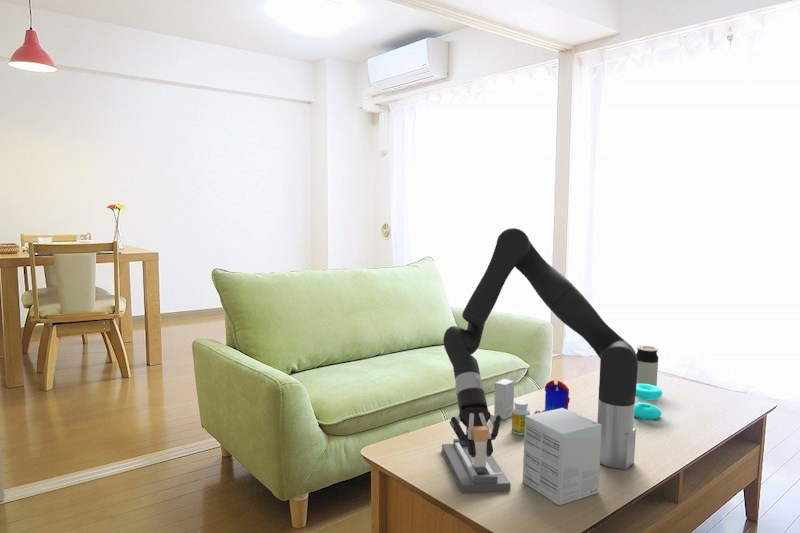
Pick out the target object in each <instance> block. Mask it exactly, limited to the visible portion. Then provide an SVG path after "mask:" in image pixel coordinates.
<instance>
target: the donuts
mask: <svg viewBox="0 0 800 533" xmlns="http://www.w3.org/2000/svg"><path fill="white" fill-rule="evenodd" d="M662 395H663V390H662V389H661V388H660V387H659V386H657V387H656V386H654V385H650V384H637V386H636V395H635V398H638V399H639V400H645V401H646V400H647V401H654V400H658V399H660V398H662ZM661 415H662V411H661V409H660V408H659V407H657V406H656V405H654V404H651V403H648V402H643V401H641V402H635V408H634V418H638V419H641V420H642V419H643V420H650V421H651V420H653V421H654V420H656V419H659V418H660V417H661Z"/></svg>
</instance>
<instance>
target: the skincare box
mask: <svg viewBox="0 0 800 533" xmlns="http://www.w3.org/2000/svg"><path fill="white" fill-rule="evenodd" d="M514 397H515V381H514V380H511V379H508V378H507V379H506V378H502V379H501V380H497V381H496V382H494V404H493V405H494V408H493V409H494V412H493V414H494V416H497V415H499V416H500V417H501V420H503V421H506V420H507V419H509V418H512V410H513V408H514V407H515V406H514V405H515V401H514V400H515V399H514Z"/></svg>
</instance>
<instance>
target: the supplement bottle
mask: <svg viewBox="0 0 800 533" xmlns="http://www.w3.org/2000/svg"><path fill="white" fill-rule="evenodd" d="M528 403H529V402H528V401H526V400H519V399H518V400H515V401H514V407H513V410H512V416H511V432H512V433H513V434H515V435H519V436H524V434H525V416H526V415H531V412H530V409H529V408H528V407H529V404H528Z"/></svg>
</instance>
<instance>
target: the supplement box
mask: <svg viewBox="0 0 800 533" xmlns="http://www.w3.org/2000/svg"><path fill="white" fill-rule="evenodd" d="M540 412H541V413H536V414H534V413H532V414H531V413H530V415H526V416H525V434H524V435H523V436H524V439H523V440H524V441H523V462H522V464H523V465H522V483H524V485H527V487H530V488H532V489H533V490H534V491H536V492H537V493H539V494H541V495H542V496H543V497H545V498H546V499H548V500H550V501H551V502H553V503H554V504H556V505H557V506H562V505H565V504H568V503H571V502H574V501H577V500H580V499H584V498H586V497H591V496H593V495H596V494H598V493H599V490H600V489H599V485H600V464H601V463H600V447H601V426H602V425H601V424H599V423H597V422H596V421H595V420H592V419H590V418H588V417H585V416H583V415H581V414H578V413H576V412H573V411H571V410H569V409H568V410H567V409H564V408H560V409H555V410H550V411H546V412H542V411H540Z"/></svg>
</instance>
